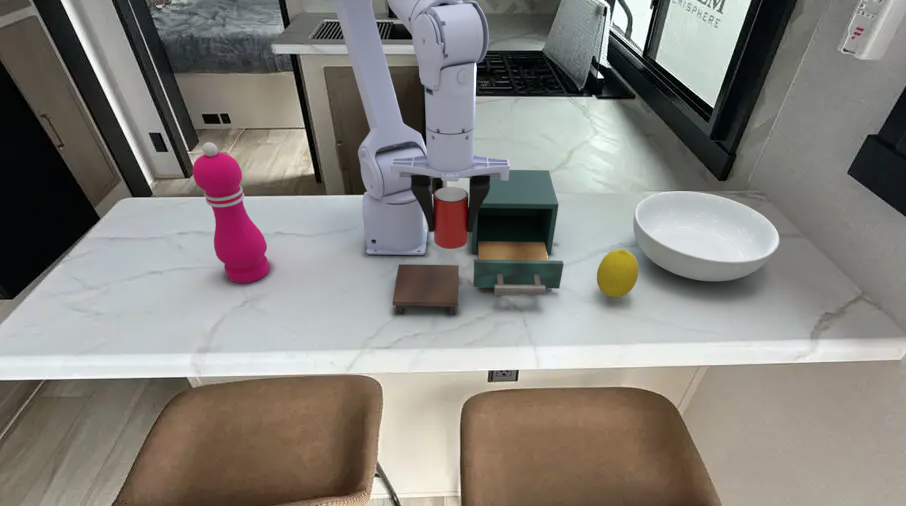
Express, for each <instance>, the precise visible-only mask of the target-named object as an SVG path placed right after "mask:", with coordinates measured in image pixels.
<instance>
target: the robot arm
mask: <svg viewBox="0 0 906 506" xmlns="http://www.w3.org/2000/svg"><path fill="white" fill-rule="evenodd" d="M328 1H329V2H330V3H332V5H333V6H334V9H335V14H336V16H337V20H338V22H339V26H340V29H341V32H342V36H343V39H344V43H345V46H346V51H347V54H348V57H349V61H350V64H351V67H352V71H353V74H354V78H355V81H356V85H357V88H358V91H359V92H358V93H359V95H360V99H361V102H362V103H361V104H362V106H363V110H364V113H365V117H366V120H367V123H368V127H369V132H368V134H367V135H366V137H365V138H364V140H363V141H362V142H361V144H360V145H359V146H358V147H359V148H358V150H357V157H358V160H359V164H360V175H361V180H362V183H363V185H364V188H365V190H366V191H365V192H364V193H363V196H362V222H363V228H364V236H365V243H366V244H365V245H366V251H365V253H366V254H367V255H385V256H386V255H387V256H388V255H392V256H393V255H394V256H395V255H396V256H424V255H425V254H426V248H427V240H428V238H427V237H428V232H429V233H434V218H433V179H440V180H441V181H442V182H458V181H459V180H460V179H469V183H468V184H469V186H468V187H469V192H468V195H469V201H468V225H467V232H468V233H471V232H473V226H474V222H475V219H476V216H477V213H478V211H479V209H480V207H481V205H482V203H483V201H484V199H485V198H486V196H487V195H488V193H489V190H490V178H500V180H502V181H508V180H509V170H510V167H511V166H510V160H509V159H506V158H494V157H487V156H481V155H474V154H475V153H474V152H475V128H476V127H475V125H476V124H475V123H476V96H477V95H476V93H477V91H476V89H477V64H479V63H481V62H482V61H483V60H484V59H485V57H486V55H487V52H488V49H489V41H490V34H489V25H488V21H487V17H486V15H485V13H484V11H483V9H482V8H481V7H480V4H479V3H478V2H477V1H475V0H465V1H463V0H387V1H386V2H387V4H388V6H389V8H390V10H391V11H392V13H394V15H395V16H396V18H398V20H399V21H400V22H401V24H402V25H403V26H404V27H405V29H407V31H408V32H409V33H410V35H411V37H412V38H411V39H412V46H413V51H414V54H415V57H416V61H417V65H418V74H419V75H418V77H419V78H420V83H421V85H422V86H424V106H425V136H426V137H425V139H426V145H425V141H424V138H423V136H422V133H420V132H419V131H417V130H415V129H414V128H412V127H410V126H408V125H407V124H405V123H404V121H403V118H402V114H401V110H400V107H399V103H398V100H397V95H396V91H395V88H394V85H393V84H394V83H393V80H392V77H391V73H390V69H389V66H388V61H387V59H386V54H385V50H384V46H383V44H382V39H381V35H380V31H379V28H378V24H377V21H376V17H375V13H374V9H373V0H328ZM397 148H398V149H397ZM391 149H393V150H391ZM386 150H388V151H386ZM383 151H384V152H383ZM378 152H381V153H378ZM424 218H425V221H426V225H427V227H424Z"/></svg>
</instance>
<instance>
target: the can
mask: <svg viewBox="0 0 906 506" xmlns="http://www.w3.org/2000/svg"><path fill="white" fill-rule="evenodd" d="M432 201H433V218H434V232H433V242H434V244H435V245H436V246H438V247H439V248H442V249H447V250H454V249H460V248H462V247H464V246H465V245H466V244H467V243H468V241H469V240H468V238H469V237H468V235H469V232H467V225H468V207H469V192H468V191H467V190H465V189H464V188H461V187H456V186H446V187H441V188H438V189H436V190H434V192H432Z"/></svg>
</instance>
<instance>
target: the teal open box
mask: <svg viewBox="0 0 906 506" xmlns="http://www.w3.org/2000/svg"><path fill="white" fill-rule="evenodd" d="M558 210H559V201H558V198H557V193H556V190H555V186H554V182H553V179H552V176H551V173H550V170H547V169H545V170H544V169H509V180H508V181H502V180H500V178H490V190H489V193H488V195H487V196H486V198H485V199H484V201H483V203H482V205H481V207H480V209H479V211H478V213H477V216H476V219H475V222H474V226H473V232H470V254H478V241H496V242H545V247H546V251H547V255H552V250H553V243H554V236H555V230H556V224H557V219H558V212H559V211H558Z"/></svg>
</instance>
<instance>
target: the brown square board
mask: <svg viewBox="0 0 906 506" xmlns="http://www.w3.org/2000/svg"><path fill="white" fill-rule="evenodd" d="M459 268H460V266H459V264H417V263H416V264H414V263H413V264H412V263H411V264H410V263H409V264H408V263H399V264H398V266H397V274H396V278H395V284H394V290H393V296H392V306H395V314H398V315H402V314H403V307H404V306H407V307H449V309H450V310H449V315H457V307H459V277H460V276H459V274H460V273H459V272H460V271H459V270H460V269H459Z"/></svg>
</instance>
